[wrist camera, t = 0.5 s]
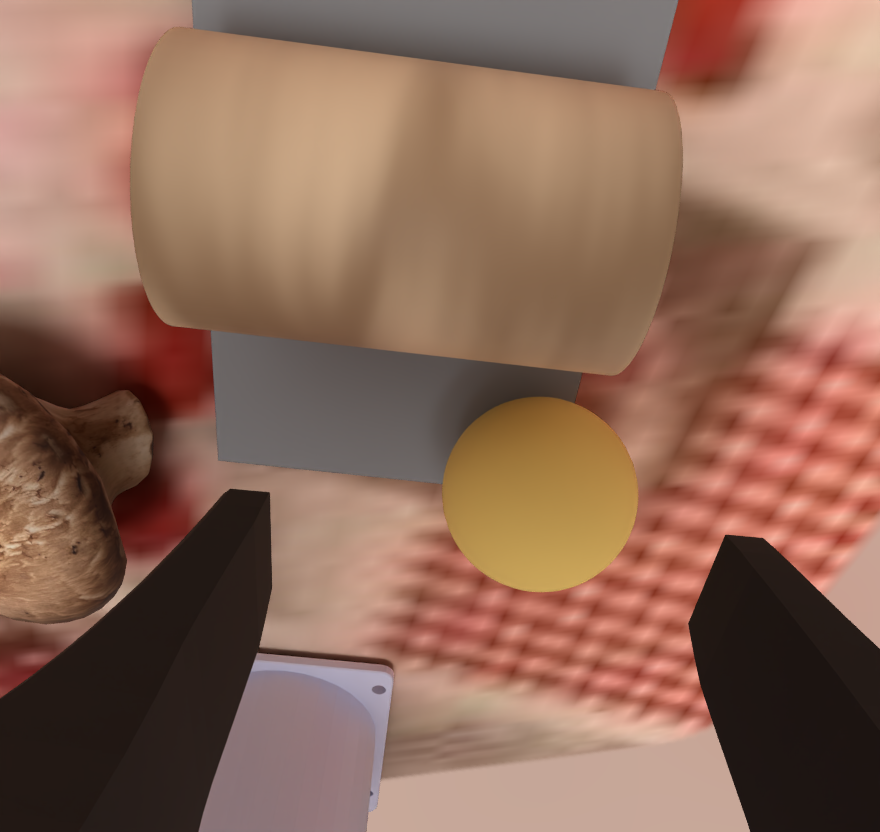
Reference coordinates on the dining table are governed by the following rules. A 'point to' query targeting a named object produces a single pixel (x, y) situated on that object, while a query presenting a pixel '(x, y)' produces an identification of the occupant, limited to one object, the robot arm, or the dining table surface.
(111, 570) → the mushroom
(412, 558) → the dining table surface
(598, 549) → the ball
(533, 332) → the roller
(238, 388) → the grey board
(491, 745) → the dining table surface
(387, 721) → the robot arm
